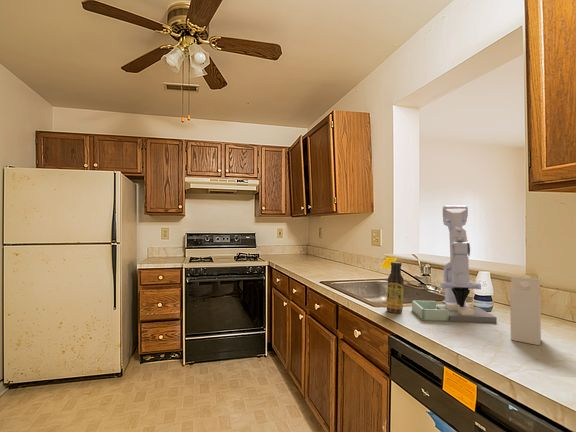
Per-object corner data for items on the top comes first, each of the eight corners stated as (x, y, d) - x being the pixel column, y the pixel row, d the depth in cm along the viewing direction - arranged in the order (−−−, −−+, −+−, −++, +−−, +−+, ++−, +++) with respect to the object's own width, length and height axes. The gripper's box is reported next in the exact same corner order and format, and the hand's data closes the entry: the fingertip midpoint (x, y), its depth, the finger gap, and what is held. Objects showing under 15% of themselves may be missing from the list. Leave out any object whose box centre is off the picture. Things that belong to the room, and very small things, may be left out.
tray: (412, 310, 134) (412, 300, 134) (435, 311, 133) (435, 301, 133) (422, 320, 120) (422, 309, 120) (448, 321, 119) (448, 310, 119)
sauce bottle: (385, 312, 131) (385, 262, 131) (388, 308, 136) (388, 260, 136) (402, 314, 128) (402, 263, 128) (404, 310, 133) (404, 261, 133)
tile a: (445, 307, 131) (445, 302, 131) (455, 307, 130) (455, 302, 130) (449, 310, 127) (449, 305, 127) (459, 310, 126) (459, 305, 126)
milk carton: (513, 334, 106) (512, 275, 106) (540, 339, 101) (540, 277, 101) (510, 340, 100) (510, 277, 100) (540, 346, 96) (539, 280, 96)
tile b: (458, 312, 124) (457, 306, 124) (469, 312, 124) (469, 307, 124) (462, 315, 120) (462, 309, 120) (474, 315, 120) (473, 309, 120)
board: (436, 311, 133) (436, 306, 133) (478, 312, 131) (478, 307, 131) (449, 321, 119) (449, 315, 119) (496, 322, 117) (496, 317, 117)
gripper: (444, 273, 125) (445, 309, 125) (484, 274, 124) (485, 310, 124) (438, 270, 132) (438, 304, 132) (476, 271, 131) (476, 305, 131)
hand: (460, 307), depth 128 cm, fingers closed
